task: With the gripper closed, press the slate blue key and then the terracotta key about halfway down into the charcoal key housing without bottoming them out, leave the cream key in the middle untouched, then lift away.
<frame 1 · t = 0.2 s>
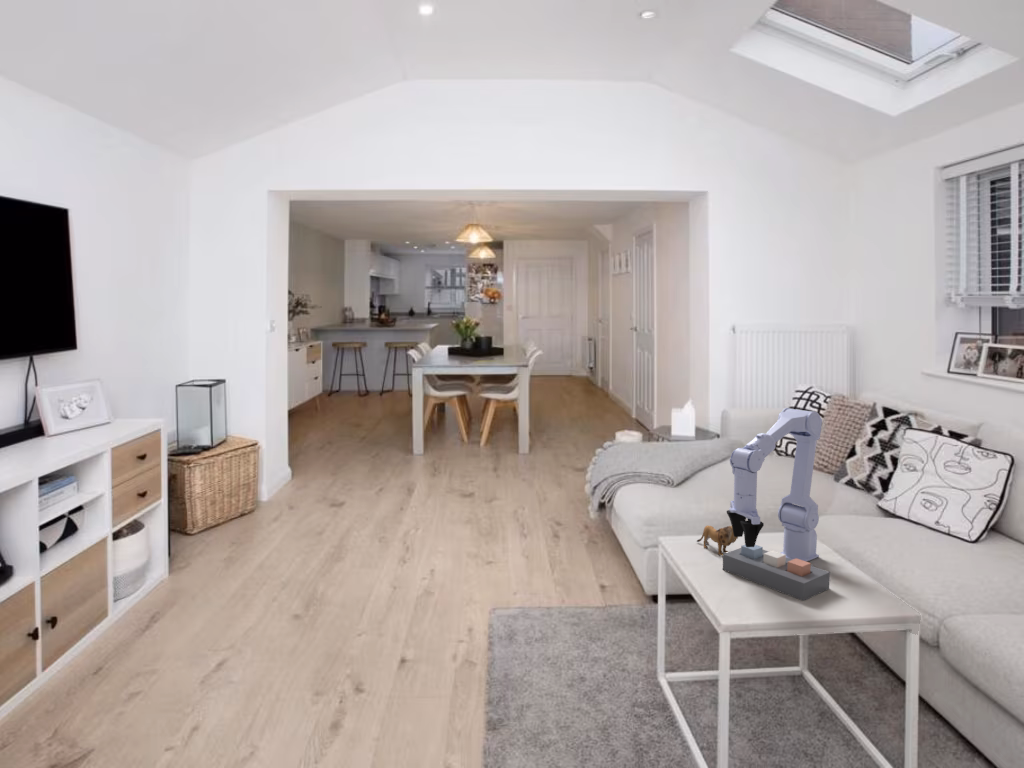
hand: (743, 541, 171), 10 cm above the table, tool pointing down, fingers open, 7 cm apart
lion figurine: (717, 550, 192), on the table
key housing: (773, 578, 171), on the table
red key: (798, 567, 164), point 5 cm above the table, slide at 0.0 cm
white key: (774, 559, 170), point 5 cm above the table, slide at 0.0 cm
blue key: (751, 551, 176), point 5 cm above the table, slide at 0.0 cm
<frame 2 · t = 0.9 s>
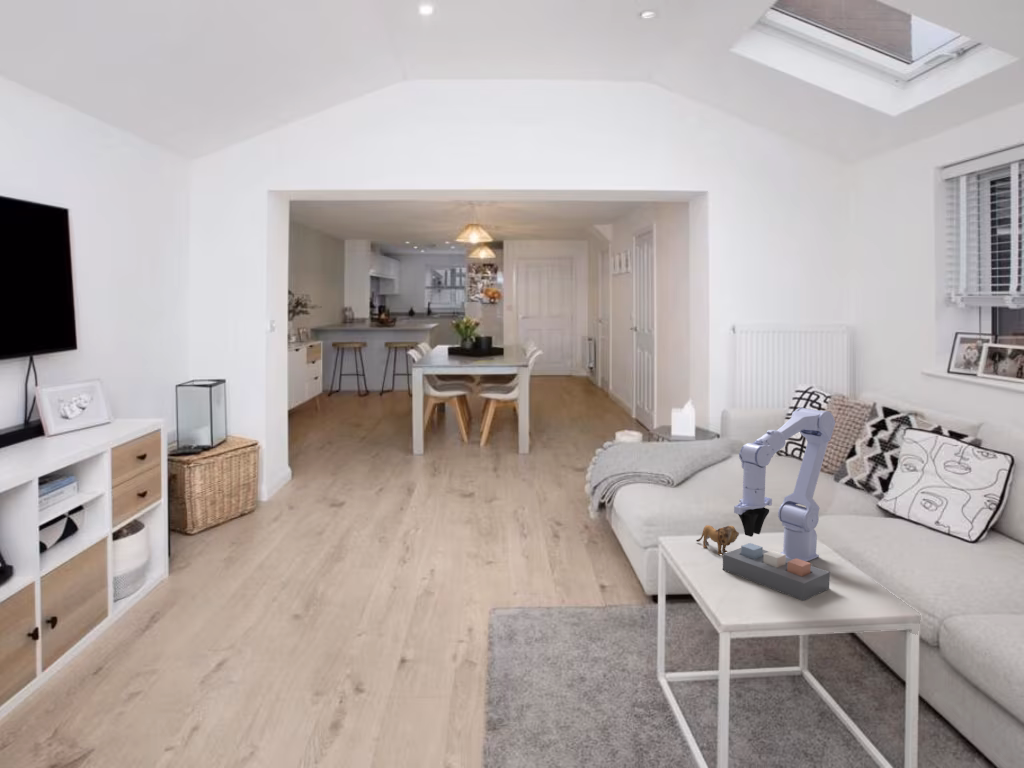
hand: (752, 534, 175), 10 cm above the table, tool pointing down, fingers open, 3 cm apart
nothing on the table moved.
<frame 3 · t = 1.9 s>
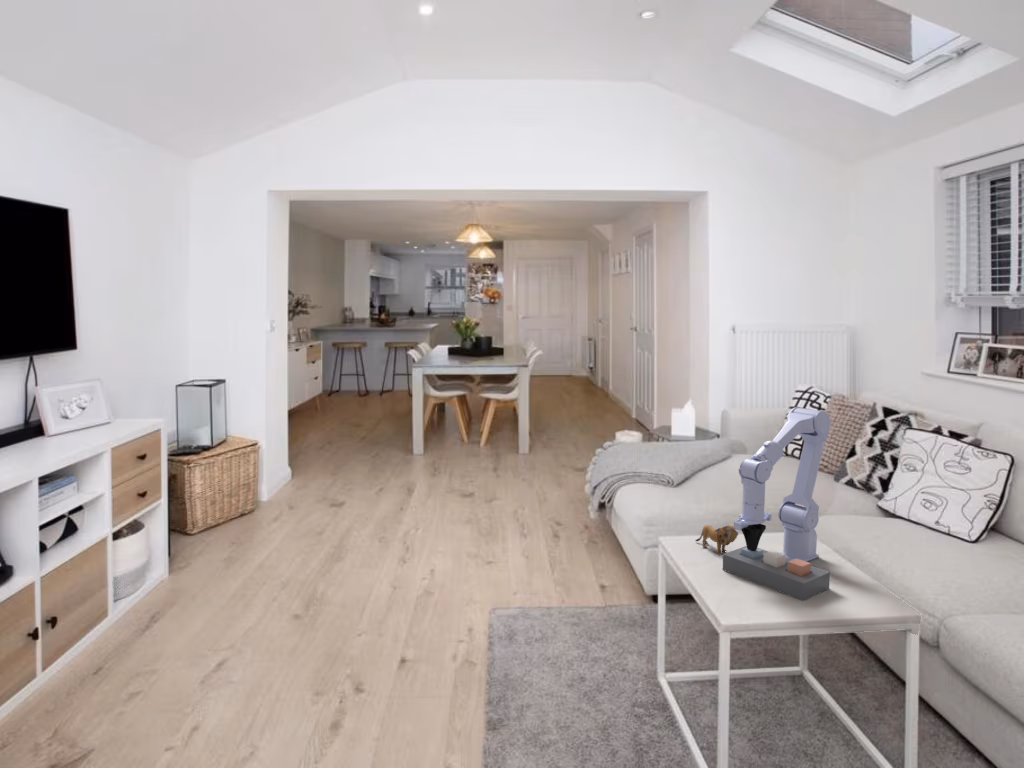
hand: (751, 549, 176), 6 cm above the table, tool pointing down, fingers closed, pressing on blue key
blue key: (751, 554, 176), point 5 cm above the table, slide at 0.9 cm, touching gripper
everything else where it was.
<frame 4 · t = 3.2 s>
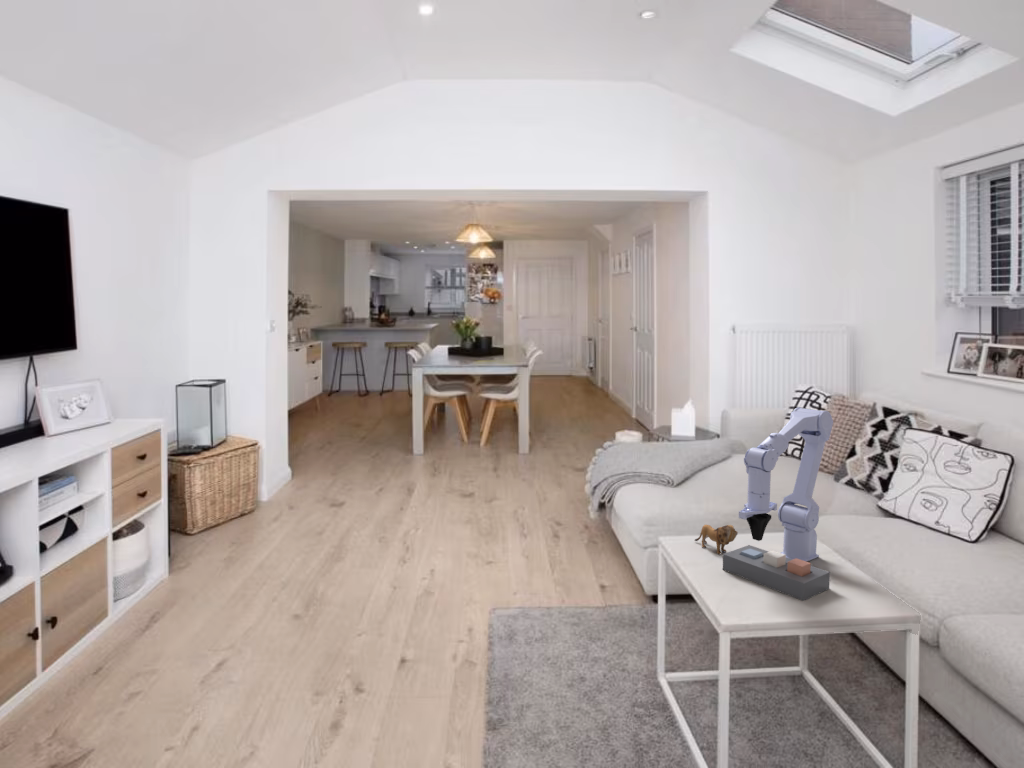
hand: (757, 539, 174), 9 cm above the table, tool pointing down, fingers closed
blue key: (751, 557, 176), point 4 cm above the table, slide at 1.6 cm
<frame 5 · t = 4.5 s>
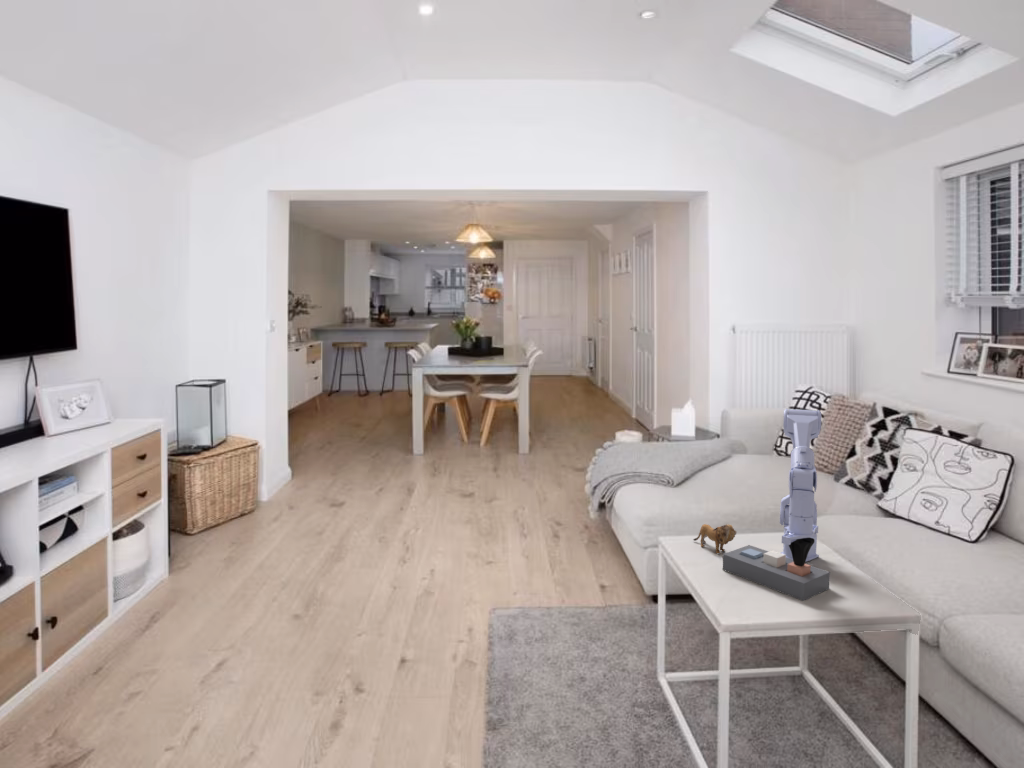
hand: (799, 564, 164), 6 cm above the table, tool pointing down, fingers closed, pressing on red key
red key: (798, 570, 165), point 5 cm above the table, slide at 0.7 cm, touching gripper
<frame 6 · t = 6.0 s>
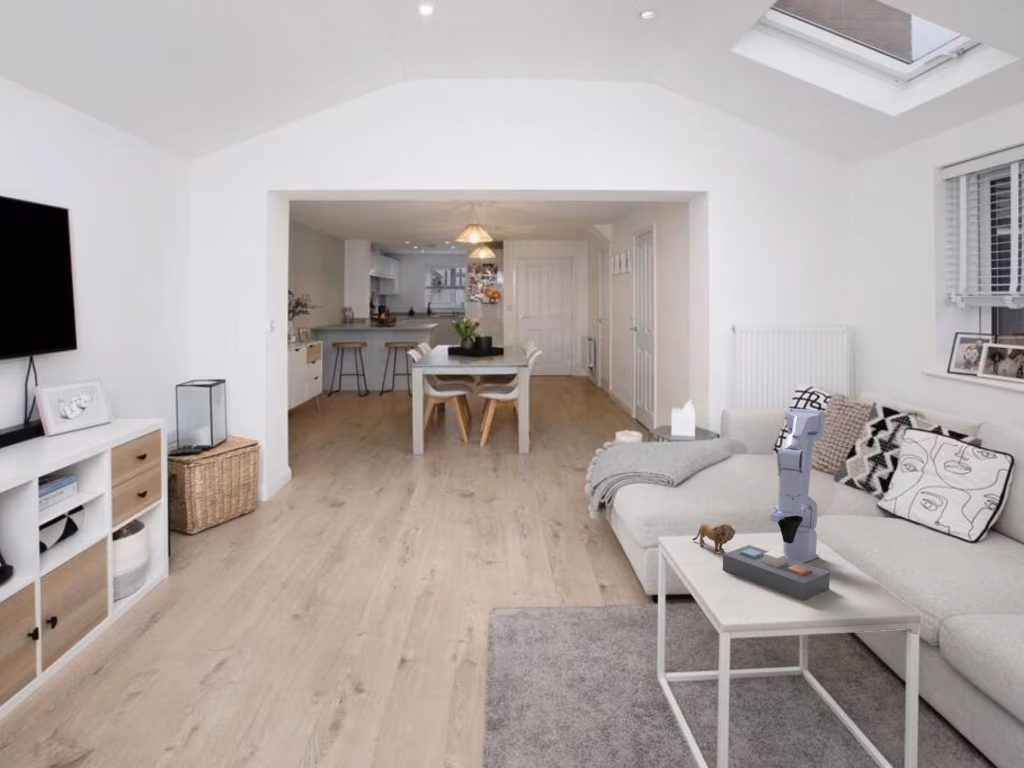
hand: (788, 542, 170), 10 cm above the table, tool pointing down, fingers closed
red key: (798, 573, 165), point 4 cm above the table, slide at 1.6 cm
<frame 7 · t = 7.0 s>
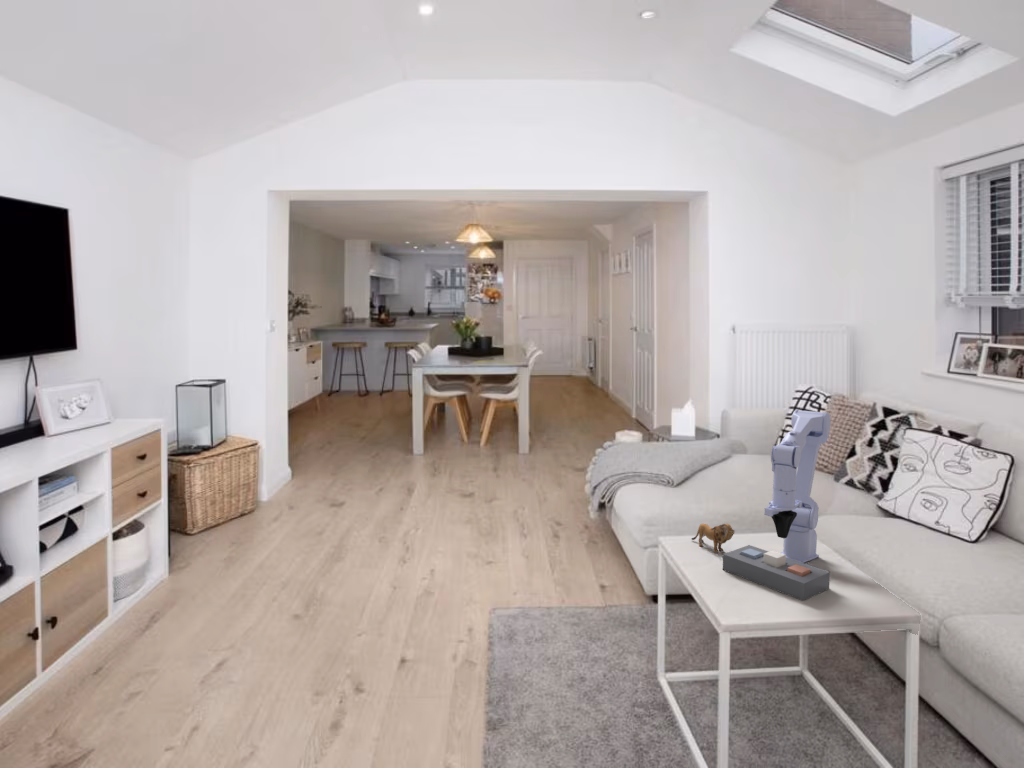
hand: (782, 537, 173), 10 cm above the table, tool pointing down, fingers closed
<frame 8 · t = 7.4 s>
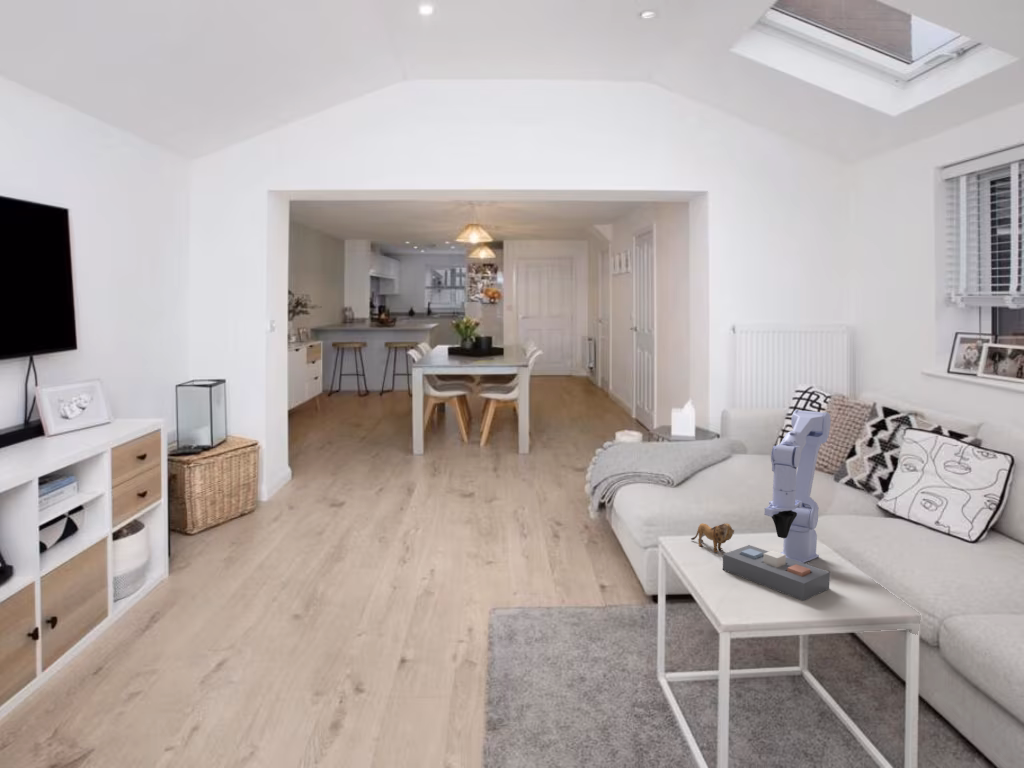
hand: (782, 537, 173), 10 cm above the table, tool pointing down, fingers closed
at the end: blue key slide at 1.6 cm; red key slide at 1.6 cm; white key slide at 0.0 cm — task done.
